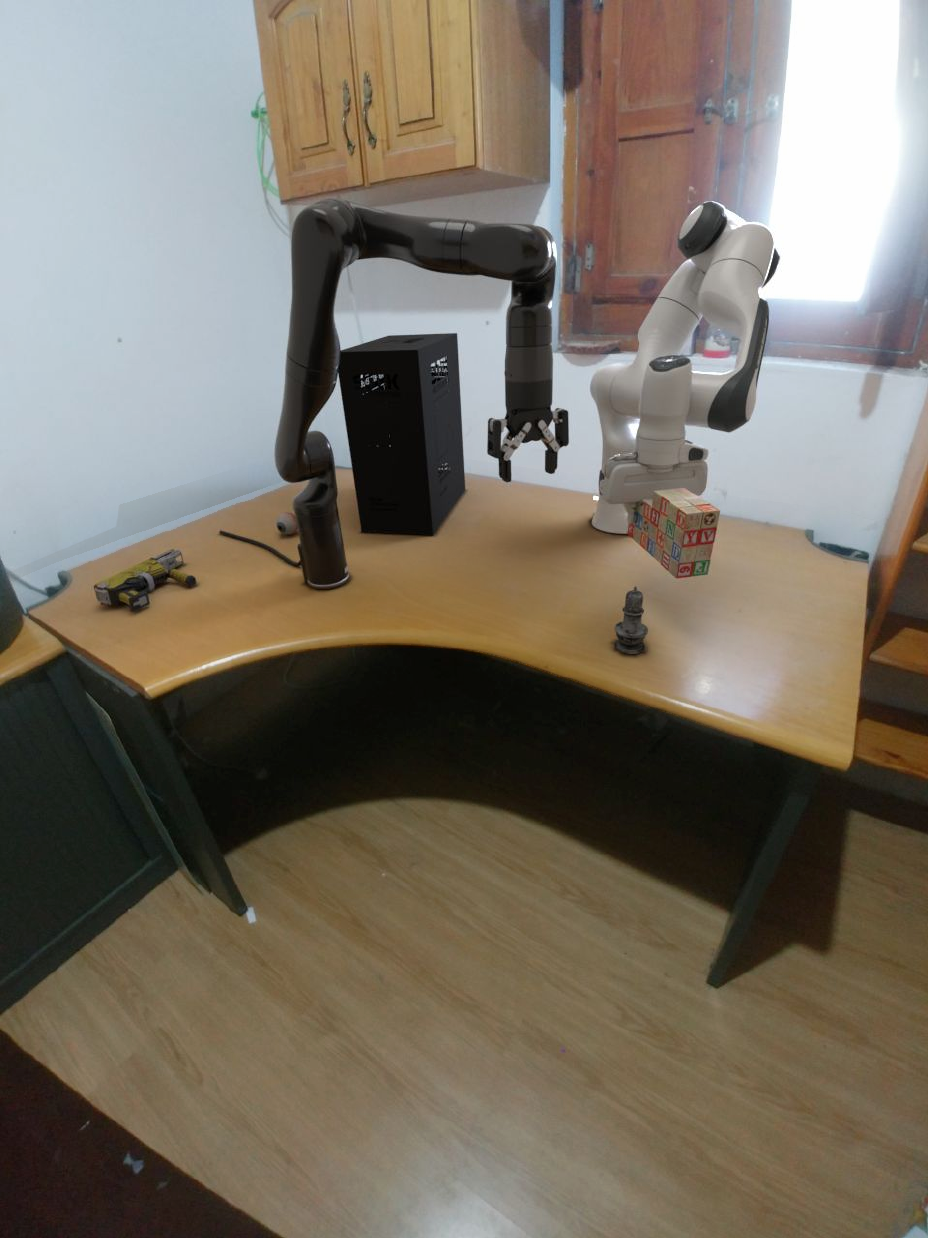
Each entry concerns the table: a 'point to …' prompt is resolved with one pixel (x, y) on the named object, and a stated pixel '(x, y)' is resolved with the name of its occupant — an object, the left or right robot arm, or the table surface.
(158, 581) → the toy gun
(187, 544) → the table surface
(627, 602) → the grey chess piece
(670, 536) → the stack of blocks
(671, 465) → the right robot arm
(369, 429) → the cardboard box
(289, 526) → the eyeball
